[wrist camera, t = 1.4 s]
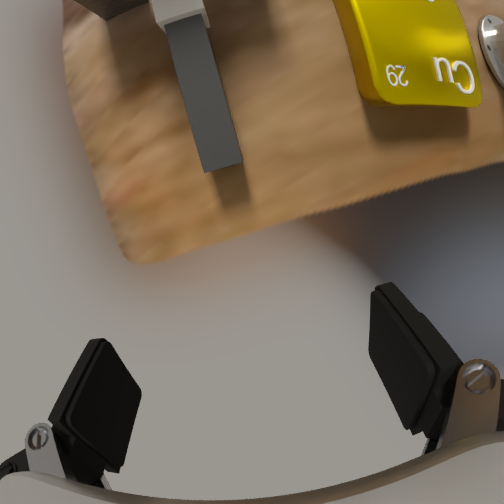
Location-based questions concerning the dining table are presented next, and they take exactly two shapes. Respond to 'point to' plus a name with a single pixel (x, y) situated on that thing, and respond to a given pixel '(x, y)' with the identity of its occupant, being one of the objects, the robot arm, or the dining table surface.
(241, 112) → the dining table surface
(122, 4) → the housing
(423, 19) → the element tile
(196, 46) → the grey and white bar
